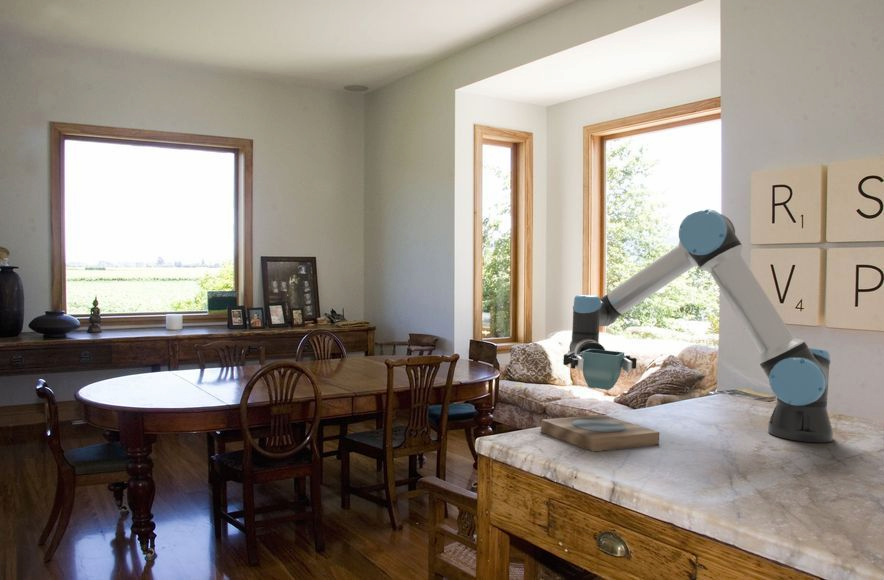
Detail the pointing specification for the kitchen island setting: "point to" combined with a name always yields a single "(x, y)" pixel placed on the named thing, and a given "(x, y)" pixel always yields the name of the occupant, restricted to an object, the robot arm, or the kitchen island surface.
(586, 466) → the kitchen island surface
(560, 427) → the walnut plinth
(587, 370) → the flower pot
